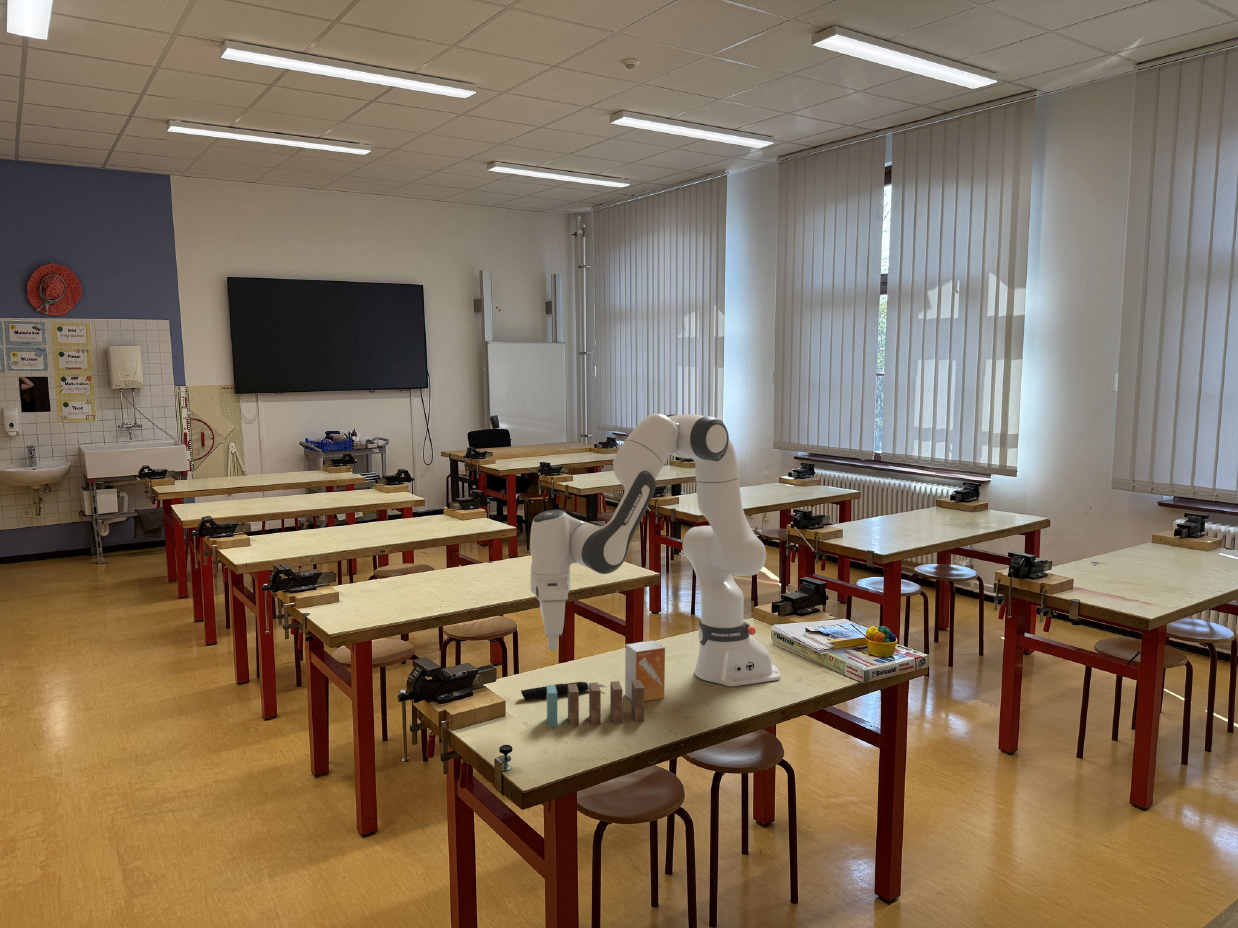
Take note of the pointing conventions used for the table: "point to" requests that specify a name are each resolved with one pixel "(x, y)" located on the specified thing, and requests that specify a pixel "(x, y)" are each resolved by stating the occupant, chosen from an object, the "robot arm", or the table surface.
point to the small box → (645, 668)
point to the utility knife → (561, 689)
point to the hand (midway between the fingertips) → (551, 642)
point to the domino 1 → (551, 706)
